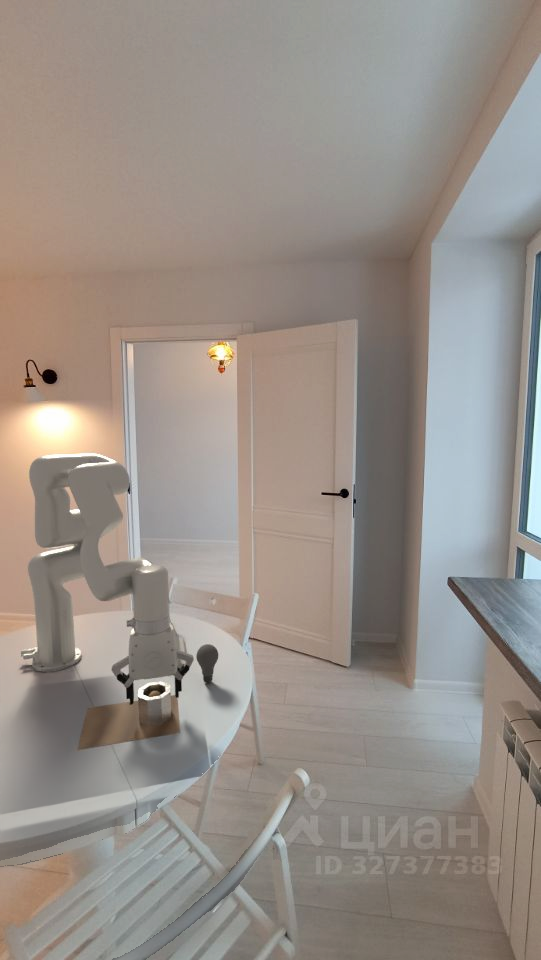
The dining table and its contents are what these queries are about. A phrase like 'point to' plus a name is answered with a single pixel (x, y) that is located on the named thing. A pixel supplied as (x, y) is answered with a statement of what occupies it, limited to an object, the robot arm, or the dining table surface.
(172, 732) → the keeper base
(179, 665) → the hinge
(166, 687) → the white hollow octagonal cylinder
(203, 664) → the light bulb
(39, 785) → the dining table surface
